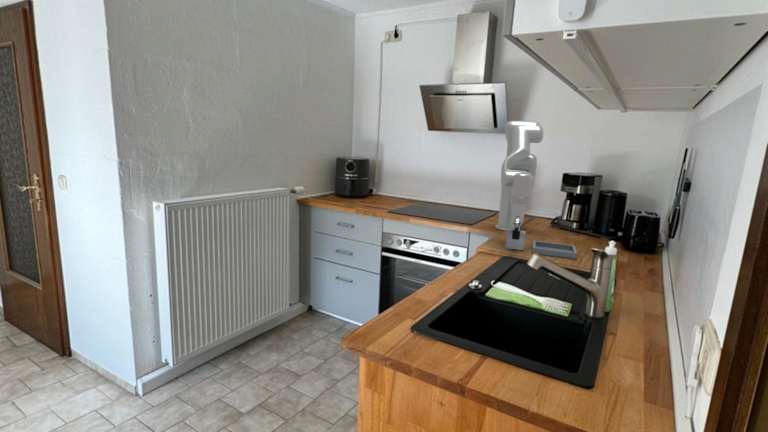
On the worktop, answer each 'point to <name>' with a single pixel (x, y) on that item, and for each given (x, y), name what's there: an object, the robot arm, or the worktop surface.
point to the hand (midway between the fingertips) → (515, 236)
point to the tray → (555, 250)
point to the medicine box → (513, 242)
